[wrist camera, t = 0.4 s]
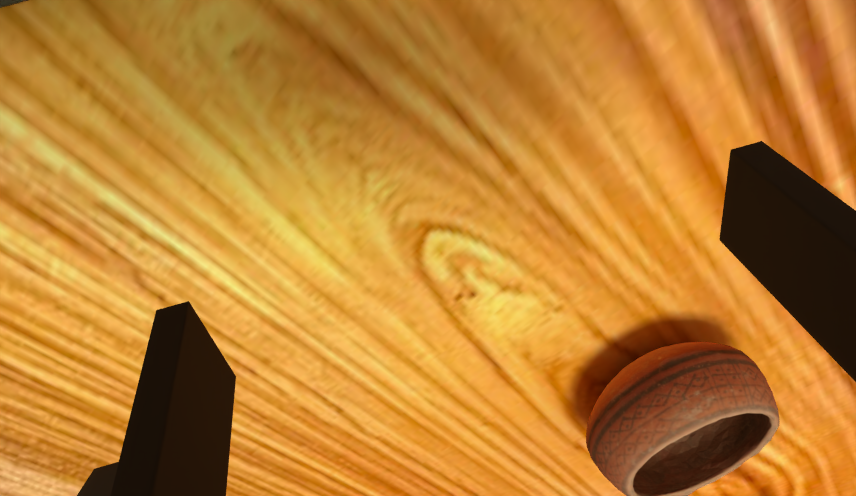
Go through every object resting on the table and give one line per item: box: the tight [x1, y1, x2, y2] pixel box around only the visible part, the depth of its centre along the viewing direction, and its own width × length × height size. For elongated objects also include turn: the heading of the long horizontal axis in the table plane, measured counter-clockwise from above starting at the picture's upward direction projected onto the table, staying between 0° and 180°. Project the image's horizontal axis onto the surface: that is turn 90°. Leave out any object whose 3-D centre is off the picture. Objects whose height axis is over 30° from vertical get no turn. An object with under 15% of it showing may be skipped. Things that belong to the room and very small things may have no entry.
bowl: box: [586, 342, 779, 496], centre depth 52 cm, size 16×16×10 cm
